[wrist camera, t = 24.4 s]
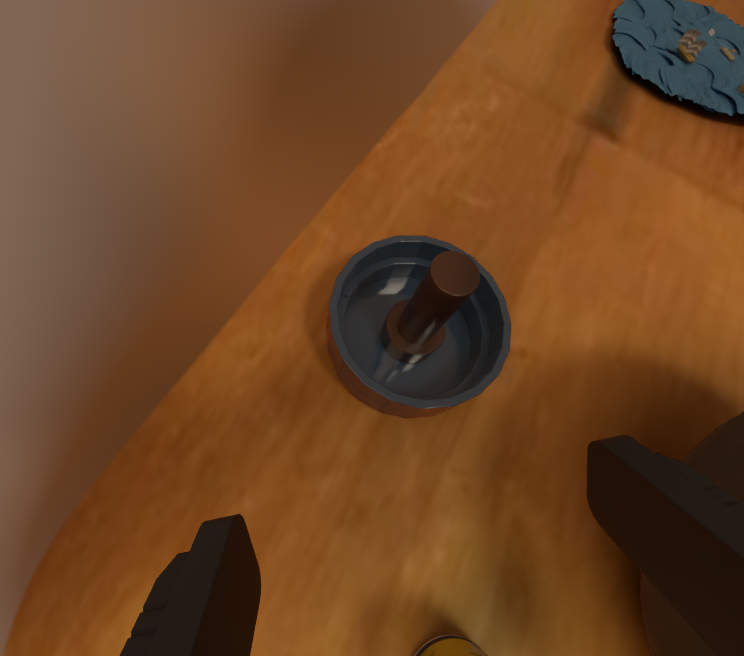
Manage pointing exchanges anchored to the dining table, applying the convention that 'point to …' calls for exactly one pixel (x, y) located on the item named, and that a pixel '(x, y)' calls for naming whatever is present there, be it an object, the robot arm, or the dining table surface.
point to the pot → (740, 479)
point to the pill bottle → (449, 647)
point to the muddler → (429, 308)
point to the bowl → (446, 364)
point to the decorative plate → (684, 51)
